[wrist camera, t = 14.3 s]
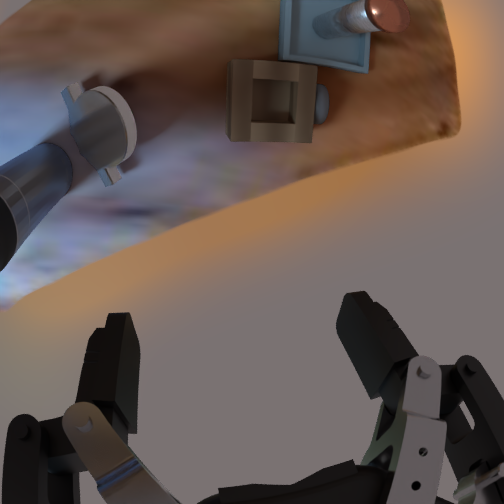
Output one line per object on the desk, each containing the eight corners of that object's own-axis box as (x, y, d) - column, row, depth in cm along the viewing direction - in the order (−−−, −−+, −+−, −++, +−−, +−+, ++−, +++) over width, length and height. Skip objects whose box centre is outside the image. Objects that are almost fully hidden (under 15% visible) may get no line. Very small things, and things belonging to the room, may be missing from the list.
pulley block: (225, 133, 38) (230, 141, 33) (227, 62, 33) (233, 59, 28) (312, 135, 40) (329, 144, 35) (317, 70, 35) (336, 69, 30)
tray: (277, 60, 33) (283, 59, 31) (281, -18, 27) (286, -23, 25) (359, 73, 36) (368, 73, 34) (362, 1, 29) (371, -2, 27)
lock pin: (308, 38, 31) (370, 24, 19) (309, 9, 29) (371, -17, 16) (340, 44, 32) (409, 38, 20) (341, 15, 30) (409, -1, 17)
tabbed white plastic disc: (54, 99, 29) (61, 76, 21) (104, 74, 32) (127, 47, 24) (97, 188, 37) (116, 195, 29) (142, 160, 41) (174, 159, 33)
